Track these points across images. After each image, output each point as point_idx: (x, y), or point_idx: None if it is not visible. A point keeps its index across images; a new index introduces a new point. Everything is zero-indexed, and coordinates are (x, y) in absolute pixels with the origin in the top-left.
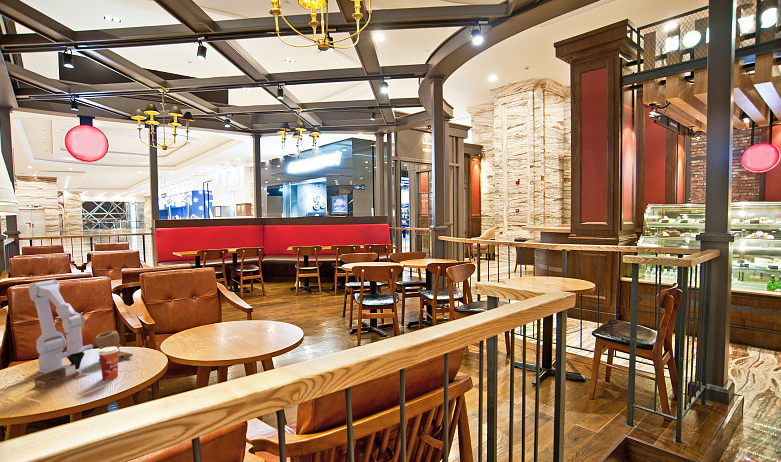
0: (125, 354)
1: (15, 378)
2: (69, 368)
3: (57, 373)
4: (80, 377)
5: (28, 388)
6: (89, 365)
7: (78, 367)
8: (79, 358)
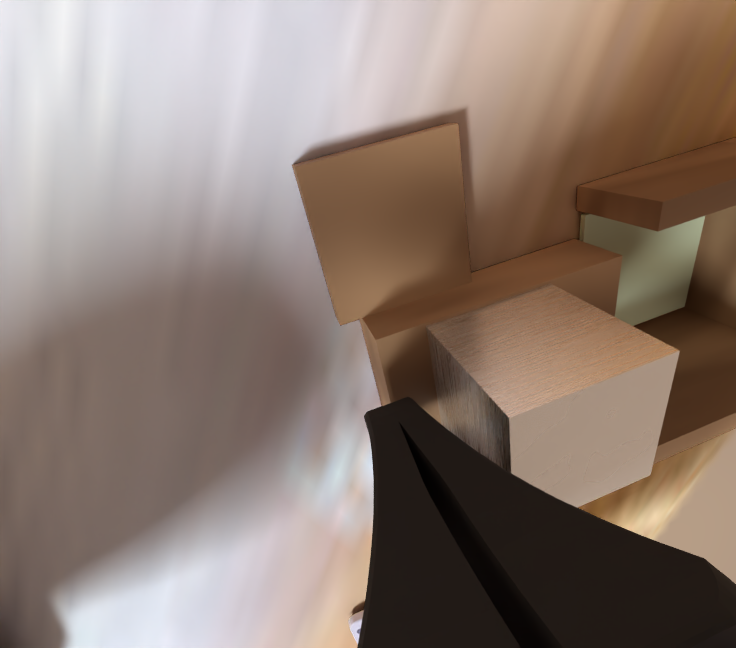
0: None
1: None
2: (580, 356)
3: None
4: (400, 165)
5: None
6: (173, 581)
7: (387, 418)
8: (462, 577)
